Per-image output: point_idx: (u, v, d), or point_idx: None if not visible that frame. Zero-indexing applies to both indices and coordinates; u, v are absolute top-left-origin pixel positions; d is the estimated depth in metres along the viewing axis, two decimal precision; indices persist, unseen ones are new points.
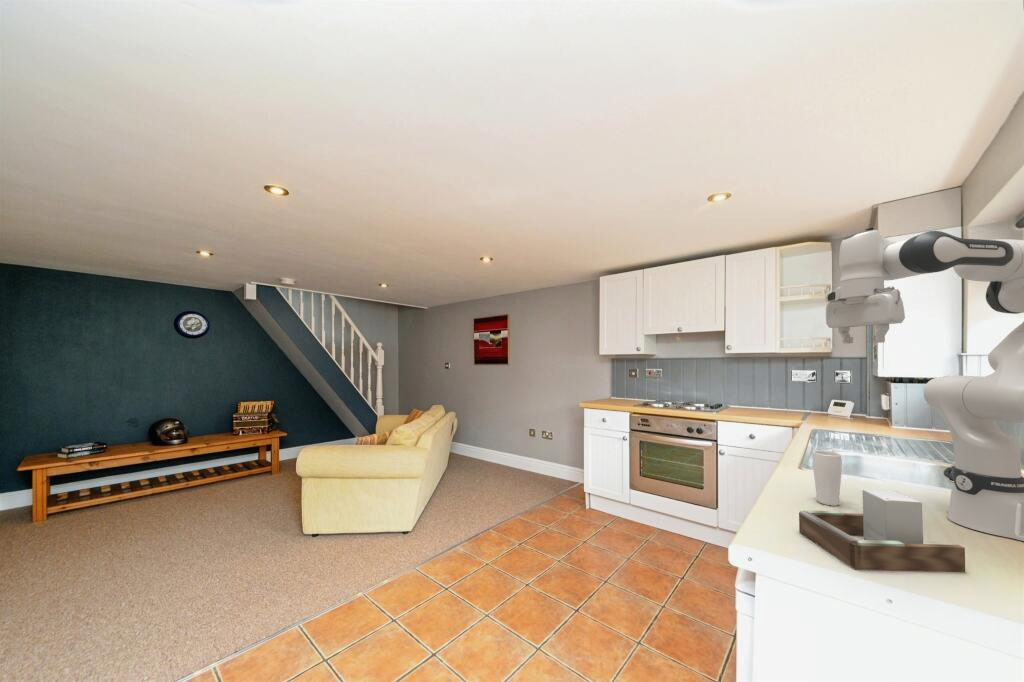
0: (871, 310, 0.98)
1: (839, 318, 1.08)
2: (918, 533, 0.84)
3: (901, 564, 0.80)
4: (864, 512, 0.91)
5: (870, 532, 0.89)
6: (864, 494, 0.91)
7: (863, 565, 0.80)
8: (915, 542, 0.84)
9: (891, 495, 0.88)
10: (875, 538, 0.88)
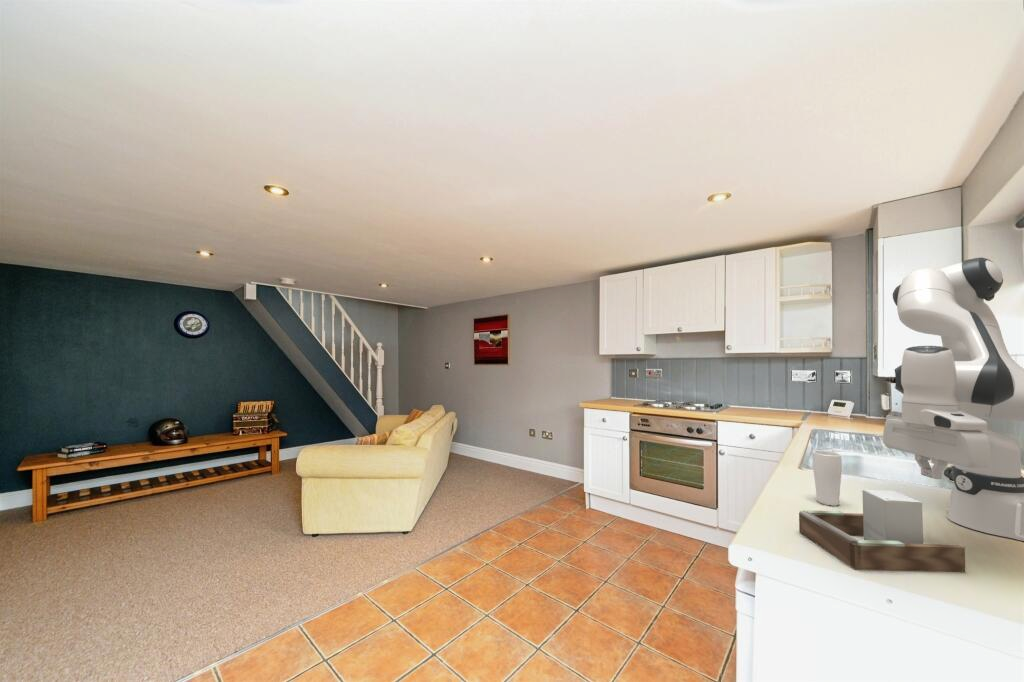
0: None
1: None
2: (918, 533, 0.84)
3: (901, 564, 0.80)
4: (864, 512, 0.91)
5: (870, 532, 0.89)
6: (864, 494, 0.91)
7: (863, 565, 0.80)
8: (915, 542, 0.84)
9: (891, 495, 0.88)
10: (875, 538, 0.88)
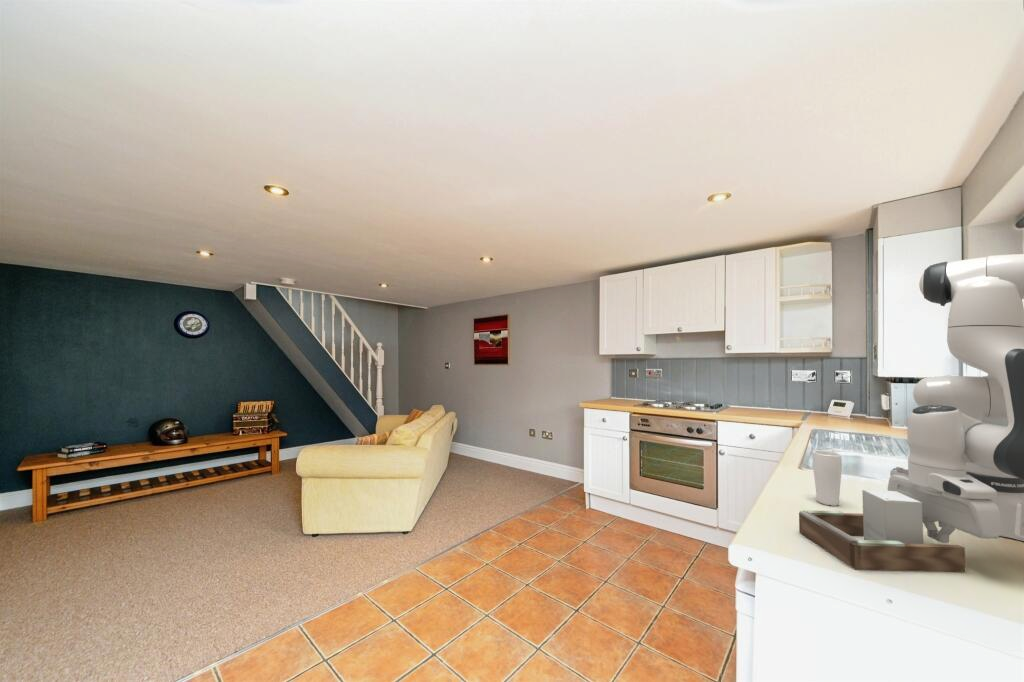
0: None
1: None
2: (918, 533, 0.84)
3: (901, 564, 0.80)
4: (864, 512, 0.91)
5: (870, 532, 0.89)
6: (864, 494, 0.91)
7: (863, 565, 0.80)
8: (915, 542, 0.84)
9: (891, 495, 0.88)
10: (875, 538, 0.88)
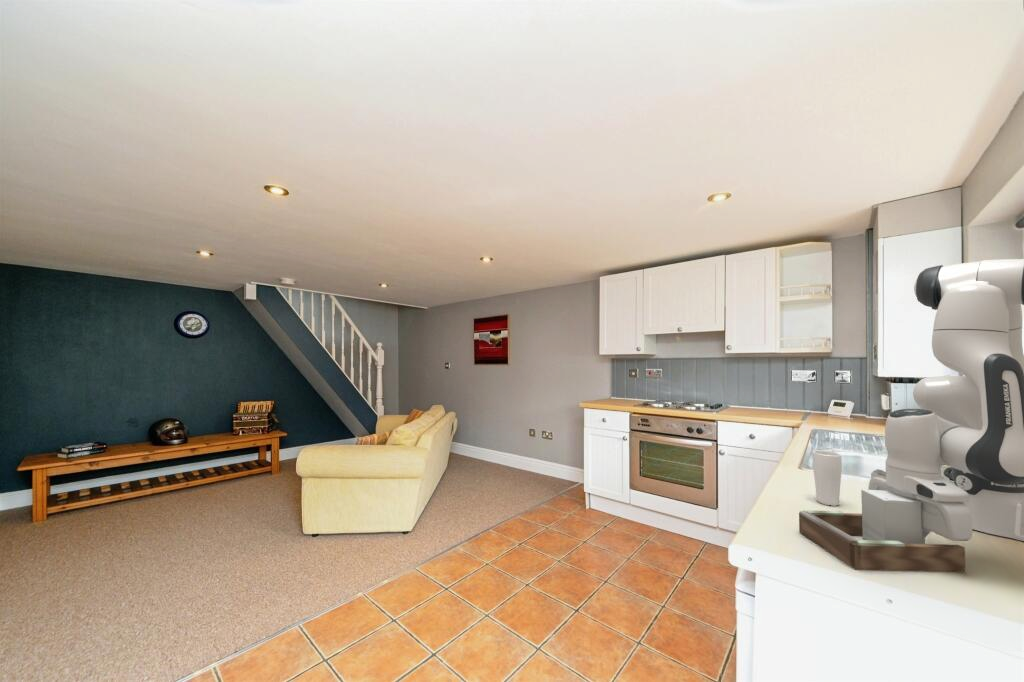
0: None
1: None
2: (917, 533, 0.84)
3: (901, 564, 0.80)
4: (863, 512, 0.91)
5: (869, 532, 0.89)
6: (863, 494, 0.91)
7: (863, 565, 0.80)
8: (914, 542, 0.84)
9: (890, 495, 0.88)
10: (874, 538, 0.88)
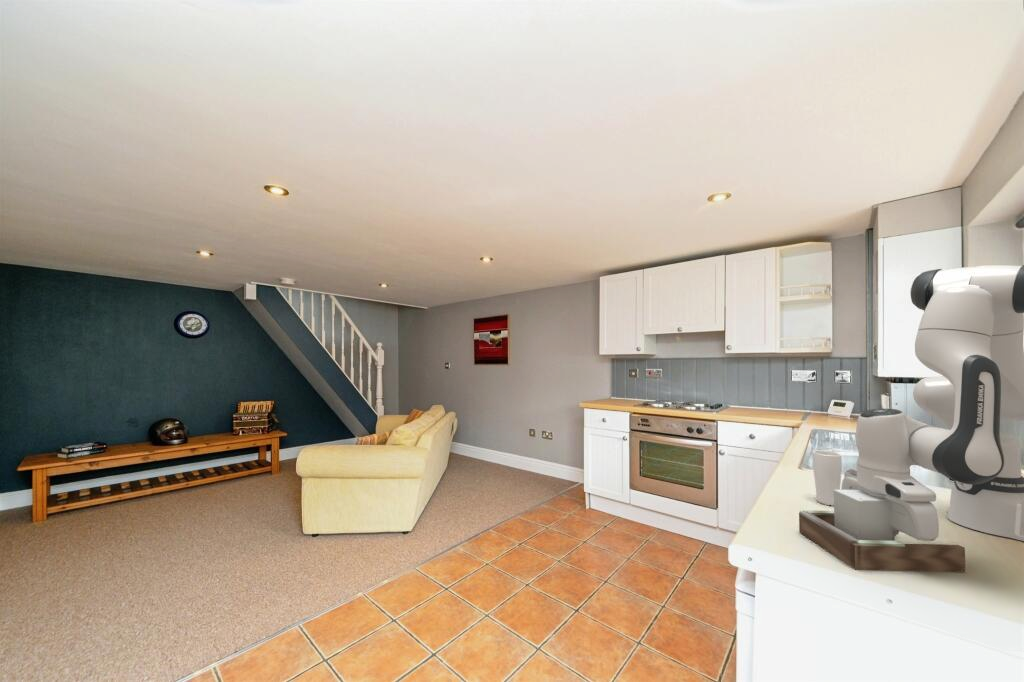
0: None
1: None
2: (888, 532, 0.84)
3: (901, 564, 0.80)
4: (835, 512, 0.91)
5: None
6: (835, 494, 0.91)
7: (863, 565, 0.80)
8: None
9: (862, 494, 0.88)
10: None
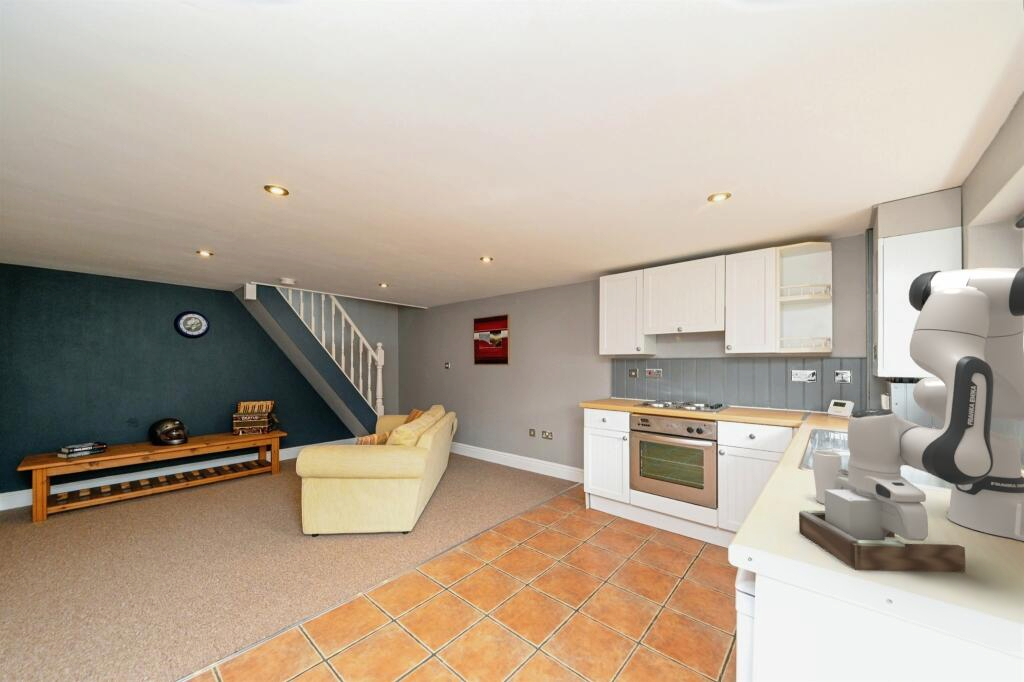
0: None
1: None
2: (878, 531, 0.84)
3: (901, 564, 0.80)
4: (826, 512, 0.91)
5: None
6: (826, 494, 0.91)
7: (863, 565, 0.80)
8: None
9: (852, 494, 0.88)
10: None
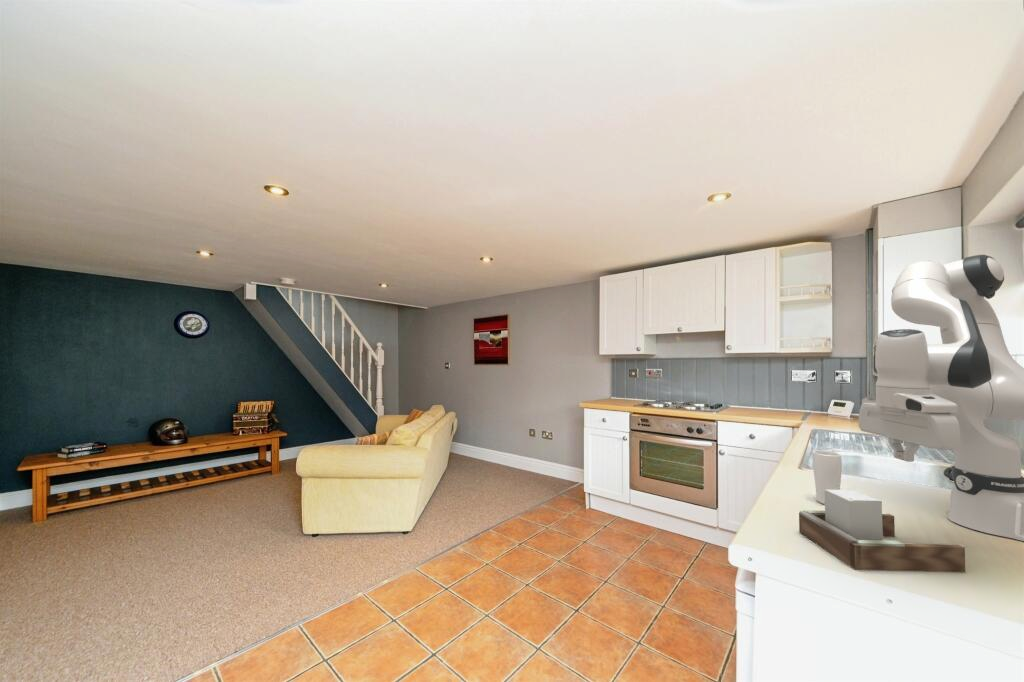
0: None
1: None
2: (878, 531, 0.84)
3: (901, 564, 0.80)
4: (826, 512, 0.91)
5: None
6: (826, 494, 0.91)
7: (863, 565, 0.80)
8: None
9: (852, 494, 0.88)
10: None
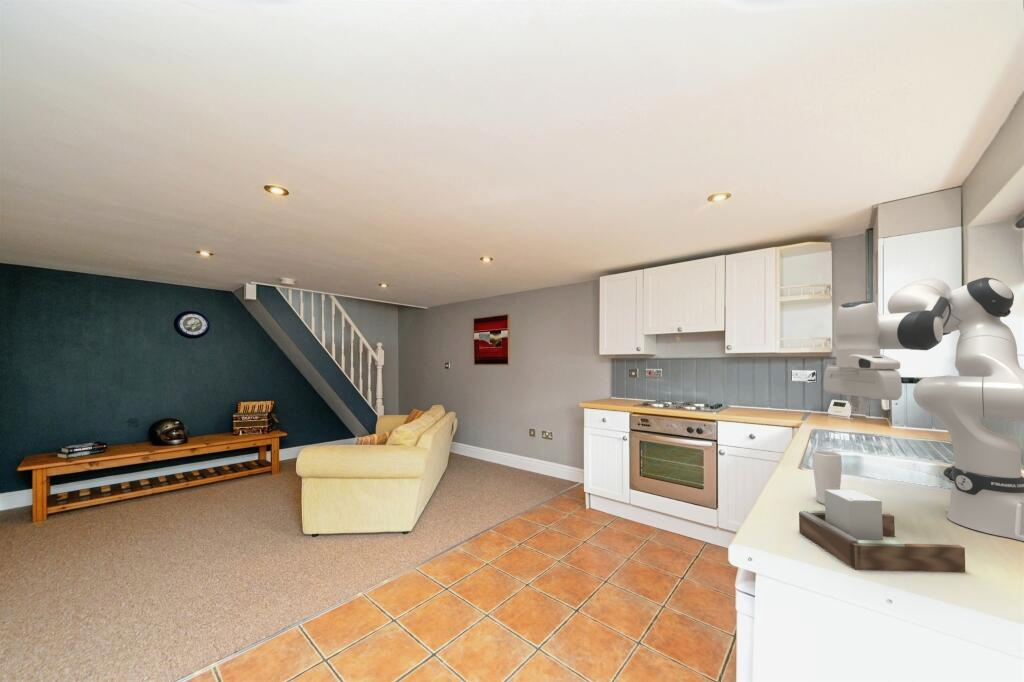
0: None
1: None
2: (878, 531, 0.84)
3: (901, 564, 0.80)
4: (826, 512, 0.91)
5: None
6: (826, 494, 0.91)
7: (863, 565, 0.80)
8: None
9: (852, 494, 0.88)
10: None
